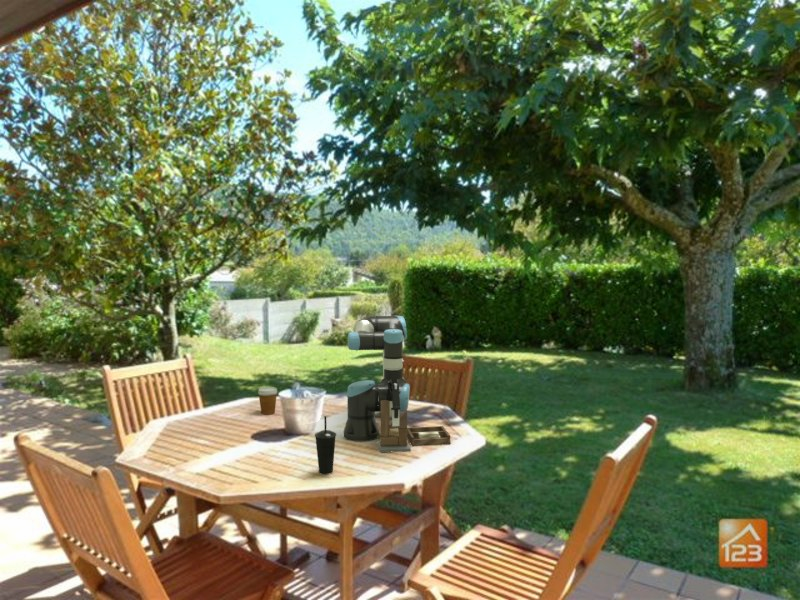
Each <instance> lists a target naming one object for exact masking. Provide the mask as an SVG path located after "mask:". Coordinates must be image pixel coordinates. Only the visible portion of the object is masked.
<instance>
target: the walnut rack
mask: <svg viewBox="0 0 800 600" xmlns="http://www.w3.org/2000/svg"><path fill="white" fill-rule="evenodd" d="M418 432H438V433H439V436H440V438H427V439H418ZM407 441H408V443H409V444H410V443H411V444H410V446H411V445H412V446H411V447H418V446H421V447H423V446H437V445H439V446H440V445H442V444H443V445H451V435H450V433H449V432H448V430H447V429H446V428H445V427H444V425H439V426H438V425H436V426H435V425H433V426H417V427H415V426H413V427H407ZM422 445H423V446H422Z"/></svg>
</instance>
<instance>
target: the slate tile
mask: <svg viewBox="0 0 800 600" xmlns="http://www.w3.org/2000/svg"><path fill="white" fill-rule="evenodd" d="M376 445H377V448H378V447H379V448H378V450H379V453H380V452H383V453H392V452H391V451H402V452H411V451H410V450H411V449H412V448H411V447H410V445H409V442H407V446H380V440H378V441H376Z"/></svg>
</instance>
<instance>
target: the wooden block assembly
mask: <svg viewBox="0 0 800 600" xmlns="http://www.w3.org/2000/svg"><path fill="white" fill-rule="evenodd" d="M390 418H391V417H390V401H389V400H381V412H380V434H379V441H380V446H407V443H408V438H407V428H408V409H406V410H405V411H402V413H401V414H399V426H392V423H391V424H390V421H391V420H390ZM390 429H397V435H396V434H390V433H391V432H390V431H391V430H390Z"/></svg>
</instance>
